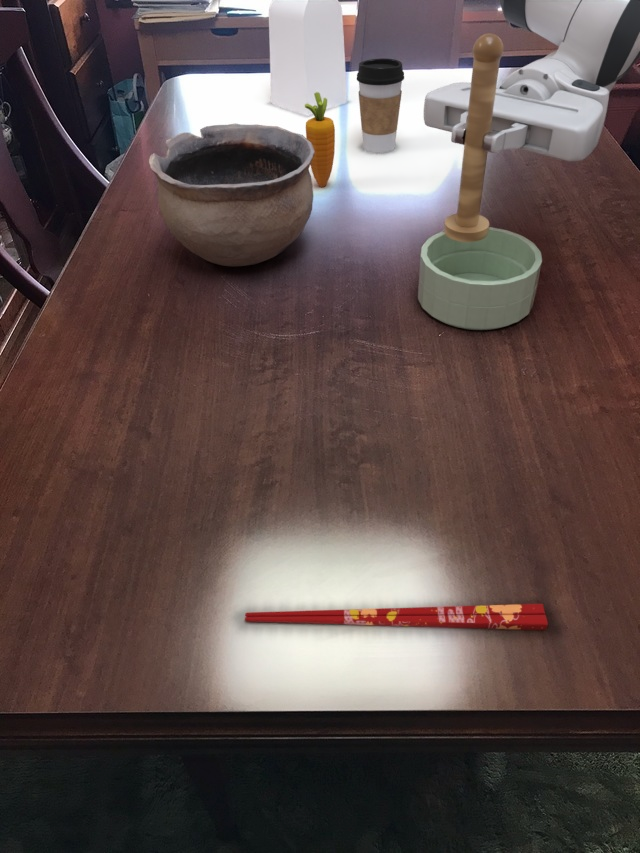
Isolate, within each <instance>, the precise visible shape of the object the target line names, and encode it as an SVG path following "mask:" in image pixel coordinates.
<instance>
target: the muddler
mask: <svg viewBox="0 0 640 853" xmlns="http://www.w3.org/2000/svg"><path fill="white" fill-rule="evenodd" d="M503 53H504V43H503V41H502V39H501V37H499V36H498V35H497V34H495V33H491V32H489V33H484V34H482V35H480V36H479V37H478V38H477V39H476V40H475V42H474V44H473V47H472V58H473V62H472V71H471V81H470V83H471V89H470V98H469V107H468V116H467V125H466V134H465V143H464V145H463V152H462V162H461V171H460V179H459V189H458V198H457V199H458V200H457V208H456V213H452V214H450V215H448V216H447V217H446V218H445V219H444V226H443V231H444V233H445V235H446V236H447V237H449V238H451V239H453V240H456V241H461V242H475V241H479V240H482V239H484V238H485V237H486V236H487V235H488V230H489V227H490V221H489V219H488V218H486V217H485V216H483V215H481V214H480V213H481V204H482V198H483V197H482V196H483V189H484V183H485V175H486V167H487V160H488V153H489V152H488V151H485V150H483V145H484V144H485V143H484V137H485V135H486V134H487V133H490V131H491V123H492V116H493V108H494V101H495V93H496V88H497V86H498V85H497V84H498V77H499V70H500V62H501V59H502V57H503V55H504V54H503Z"/></svg>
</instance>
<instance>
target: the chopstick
mask: <svg viewBox="0 0 640 853" xmlns="http://www.w3.org/2000/svg"><path fill="white" fill-rule="evenodd" d="M244 616H245V618H244V621H245V622H259V623H261V622H262V623H290V624H291V623H293V624H295V623H296V624H321V625H322V624H323V625H324V624H326V625H357V626H358V625H359V626H363V625H364V626H388V627H389V626H393V627H421V628H422V627H423V628H424V627H425V628H454V629H456V628H457V629H485V630H486V629H488V630H489V629H490V630H491V629H492V630H493V629H494V630H525V631H527V630H528V631H546V630H547V628H548V625H549V623H548V618H547V616H546V611H545V607H544V604H543V603H523V604H522V603H519V604H517V603H515V604H489V605H487V604H485V605H458V606H457V605H454V606H453V605H451V606H450V605H449V606H421V607H420V606H419V607H417V606H415V607H387V608H386V607H385V608H357V609H356V608H354V609H353V608H352V609H323V610H321V609H319V610H316V609H315V610H293V611H292V610H289V611H286V610H285V611H284V610H283V611H255V612H254V611H253V612H245V614H244Z"/></svg>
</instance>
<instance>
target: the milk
mask: <svg viewBox="0 0 640 853" xmlns="http://www.w3.org/2000/svg"><path fill="white" fill-rule="evenodd" d="M343 18H344V17H343V8H342V5H341V3H340V1H339V0H271V2H270V5H269V8H268V34H269V35H268V36H269V71H270V72H269V73H270V74H269V75H270V104H271V105H273V106H276V107H279V108H282V109H285V110H288V111H291V112H294V113H296V114H299V115H303V116H305V117H311V116H314V114H313V113H312V112H311V111H310V110H309V109H307V108H305V104H310V105H312V106H314V105H316V106H317V107H318V105H317V102H316V99H315V95H314V94H315V93H316V92H319V93H320V96H321V100H322V103H323V99H324V98H326V99H327V106H326V111H328V110H330V109H333V108H335V107H339V106H341V105H344V104H347V103H348V91H347V89H348V88H347V72H346V55H345V54H346V53H345V38H344V19H343Z"/></svg>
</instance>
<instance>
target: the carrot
mask: <svg viewBox="0 0 640 853" xmlns="http://www.w3.org/2000/svg"><path fill="white" fill-rule="evenodd" d="M314 95H315V99H316V102H317V105H318V107H317V106H316V105H314V106H312V105H310V104H305V108H307V109H309V110H310V111H311V112H312V113H313V117H312V118H309V119H308V120H307V121H306V122H305V138H306V139H307V140H308V141H310V142H311V143H312V146H313V148H314V151H315V152H314V156H313V159H312V162H311V164H310V169H311V172H312V175H313V178H314V180H315V182H316V184H317V186H318V187H320V188H325V187H326V186H327V184H328V182H329V180H330V177H331V174H332V170H333V165H334V160H335V147H336V145H335V144H336V129H335V123H334V120H333V119H332V118H330V117H328V116H325V114H326V111H327V110H326V106H327V99H326V98H324V99H323V103H322V100H321V96H320V93H319V92H316V93H315V94H314Z"/></svg>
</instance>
